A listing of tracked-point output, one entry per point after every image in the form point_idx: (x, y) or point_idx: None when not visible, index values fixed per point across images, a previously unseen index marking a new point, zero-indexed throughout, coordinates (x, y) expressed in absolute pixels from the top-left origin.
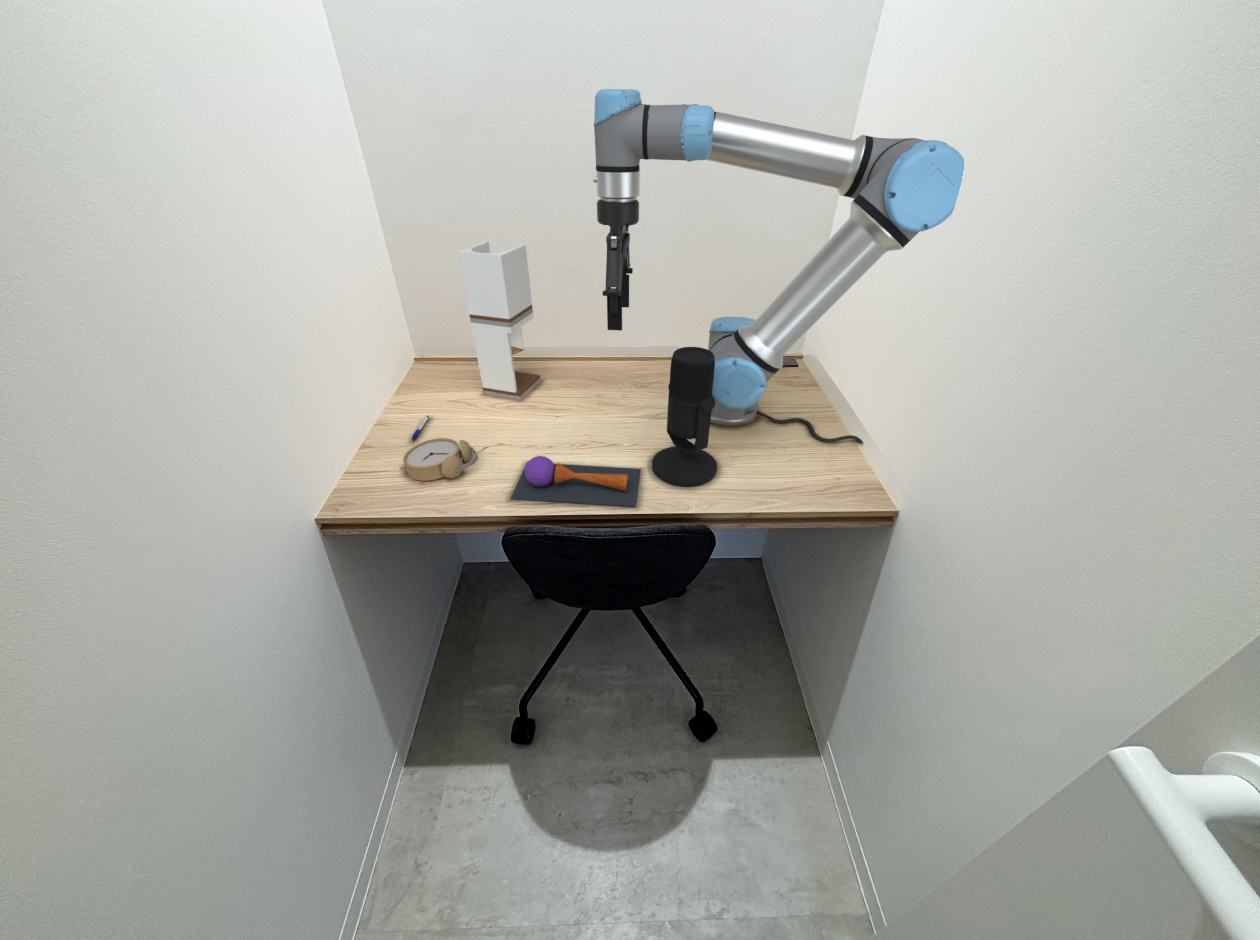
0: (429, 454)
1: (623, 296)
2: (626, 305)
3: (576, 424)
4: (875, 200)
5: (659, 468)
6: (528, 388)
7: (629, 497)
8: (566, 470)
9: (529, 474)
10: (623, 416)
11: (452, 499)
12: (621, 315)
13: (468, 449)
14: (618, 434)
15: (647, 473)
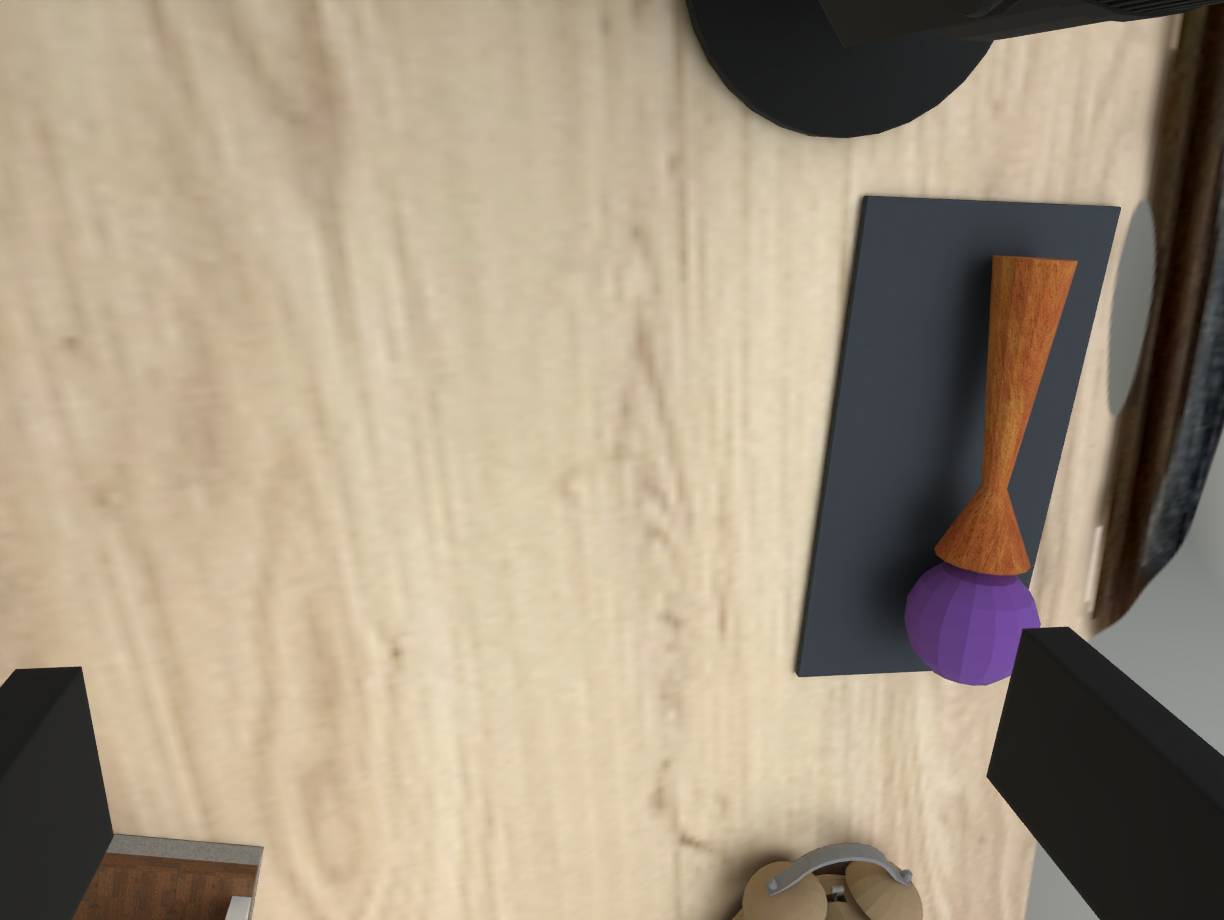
0: None
1: (9, 879)
2: (76, 719)
3: (463, 553)
4: None
5: (911, 96)
6: (157, 857)
7: (1065, 237)
8: (1008, 527)
9: None
10: (339, 323)
11: (983, 822)
12: (1217, 756)
13: (807, 895)
14: (542, 333)
15: (887, 159)
